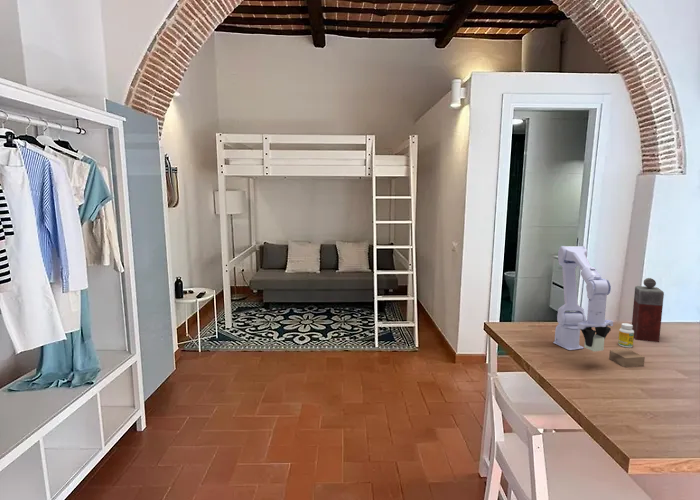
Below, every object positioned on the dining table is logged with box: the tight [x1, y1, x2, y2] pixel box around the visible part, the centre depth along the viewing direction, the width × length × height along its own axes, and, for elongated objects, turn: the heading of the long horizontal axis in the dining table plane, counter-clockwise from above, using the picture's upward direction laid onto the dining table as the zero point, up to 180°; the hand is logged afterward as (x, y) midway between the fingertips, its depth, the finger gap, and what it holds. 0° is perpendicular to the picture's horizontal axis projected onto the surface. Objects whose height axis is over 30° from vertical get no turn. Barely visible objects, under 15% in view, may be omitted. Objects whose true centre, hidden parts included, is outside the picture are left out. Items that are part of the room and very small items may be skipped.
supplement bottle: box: [617, 322, 635, 349], centre depth 174 cm, size 5×5×10 cm
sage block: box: [583, 333, 605, 352], centre depth 152 cm, size 4×4×5 cm
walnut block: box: [608, 348, 645, 368], centre depth 156 cm, size 8×8×4 cm
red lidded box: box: [631, 277, 665, 343], centre depth 183 cm, size 9×11×28 cm
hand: (594, 345), depth 153 cm, fingers closed on sage block, 4 cm apart
